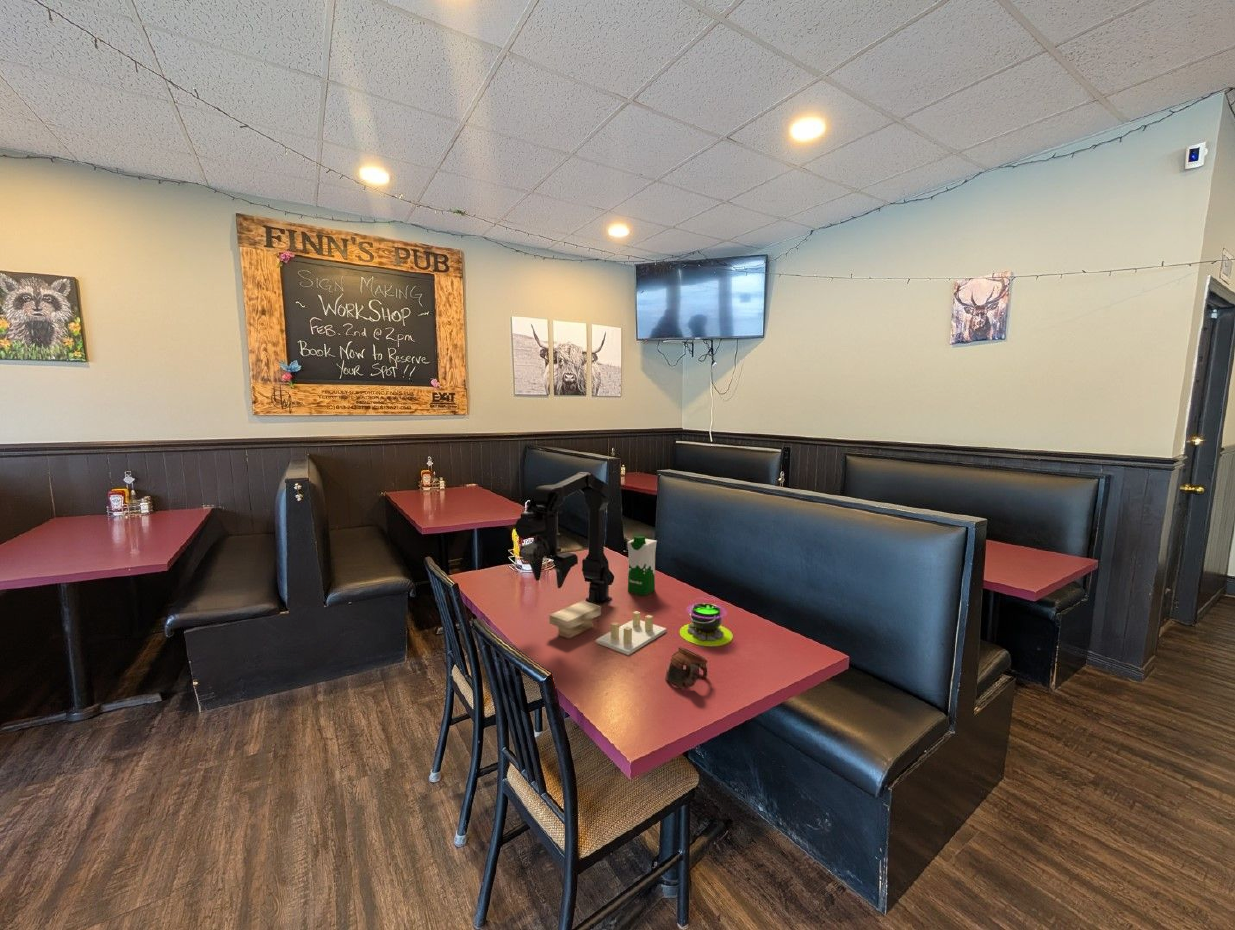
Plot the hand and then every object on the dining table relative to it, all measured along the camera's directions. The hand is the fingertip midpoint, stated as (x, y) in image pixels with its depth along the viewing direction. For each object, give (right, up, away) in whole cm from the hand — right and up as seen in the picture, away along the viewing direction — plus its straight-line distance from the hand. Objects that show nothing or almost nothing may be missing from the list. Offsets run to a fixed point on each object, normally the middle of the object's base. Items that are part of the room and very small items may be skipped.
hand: (548, 584), depth 145 cm
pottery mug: (+36, -17, -26) cm, 48 cm away
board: (+8, -10, 0) cm, 13 cm away
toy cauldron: (+45, -14, -1) cm, 47 cm away
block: (+8, -14, 0) cm, 16 cm away
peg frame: (+24, -14, -3) cm, 28 cm away
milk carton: (+28, -10, +33) cm, 44 cm away
